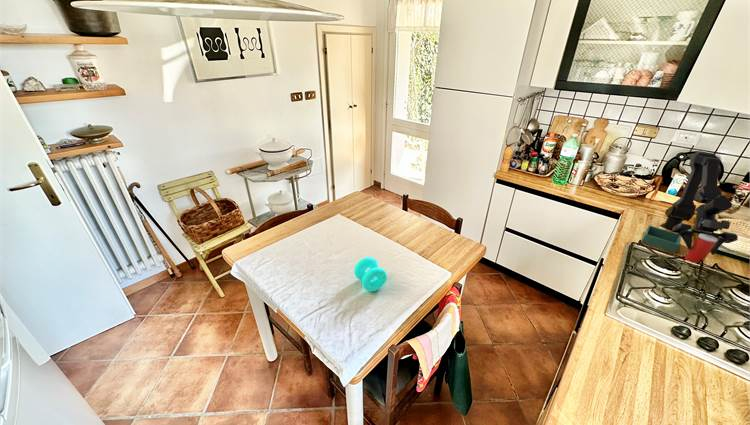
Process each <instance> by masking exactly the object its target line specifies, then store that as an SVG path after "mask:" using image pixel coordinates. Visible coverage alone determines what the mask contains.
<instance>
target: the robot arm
mask: <svg viewBox="0 0 750 425" xmlns="http://www.w3.org/2000/svg"><path fill="white" fill-rule="evenodd" d="M721 162H722V159H721V157H719V156H717V155H716V154H715V153H713V152H706V151H696V152H695V153H692V154H691V155H690V157H689V164H688V165H689V167H690V173H689V175H688V178H687V180H686V183H685V185H684V188H683V191H682V193H681V195H680V198H678V199H677V200H676V201H674V202H673V203H672V205H671V206H670V207H668V208H667V209H665V212H664V215H665V216H666V217H667V218H666V220H665V221H664V223H662V224H660V225H659V226H660V227H662V228H664V229H666V230H668V231H671V232H673V233H677V234H678V235H680V236H681V239H682V240H683V242H684V244H685V245H686V247H687V249H688V251H689V250H690V249H691V247H692V246H693V236H694V235H695V234H697V235H699V234H708V235H711V236H713V237H715V238H717V239H718V241H717V242H716V243H715V245H714V246H713V248H712V249H711V251H710V254H711V256H713V255H715V254H716V253H717V251H718V250H719V248H720V247H721V246H722V245H723V244H730V243H734V242H737V241H738V240H739V236H738V235H737V234H736V233H733V232H728V231H723V229H724V230H729V229H730V226H731V221H729V220H721V221H718V219H717V218H716V217H717V215H720V214H722V213H724V212H727V211H728V210H730V209H731V208H732V207H733V202H731V200H730V199H728V198H727V195H723V194H722V193H723V192H722V189H721V188H720V187H719V186H718V182H719V181H718V180H719V169H720V168H719V166H720V165H721ZM694 200H695V202H696V203H697V204H698V203H699V204H700V205H699V206H698V205H696V204H695V202H694ZM695 212H696V213H695ZM695 214H696V215H695ZM694 216H695V219H694V220H693V223H694V228H693V227H692V225H691V224H688V223H683V221H687V222H689V221H690V220H692V219H693V217H694ZM718 231H723V232H720V233H719V232H718Z"/></svg>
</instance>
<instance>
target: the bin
mask: <svg viewBox="0 0 750 425" xmlns="http://www.w3.org/2000/svg"><path fill="white" fill-rule="evenodd" d="M681 239H682V237H681V236H680V235H678V233H675V232H672V231H671V230H668V229H663V228H660V227H656V226H653V225H648V226H647V228H646V230H645V232H644V233H643V237H642V239H641V243H642V244H645V245H648V246H651V247H654V248H658V249H660V250H663V251H667V252H669V253H673V254H676V252H677V250H678V249H679V247H680V245H681Z"/></svg>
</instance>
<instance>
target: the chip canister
mask: <svg viewBox="0 0 750 425" xmlns="http://www.w3.org/2000/svg"><path fill="white" fill-rule="evenodd" d="M717 241H718V239H717V238H715V237H713V236H711V235H708V234H697V237H696V239H695V241H694V242H693V243H692V247H691V249H690V250H689V249H688V251H687V253H686V255H685V256H684V258H683V260H684V259H687V260H689V261H691V262H695V263H698V262H699V261H700V260H701V259H702V260H703V262H704V261H705V260H706V258H707V257H708V256H709V254H710V253H711V249H712V248H713V246H714V245H715V243H716V242H717Z"/></svg>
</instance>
